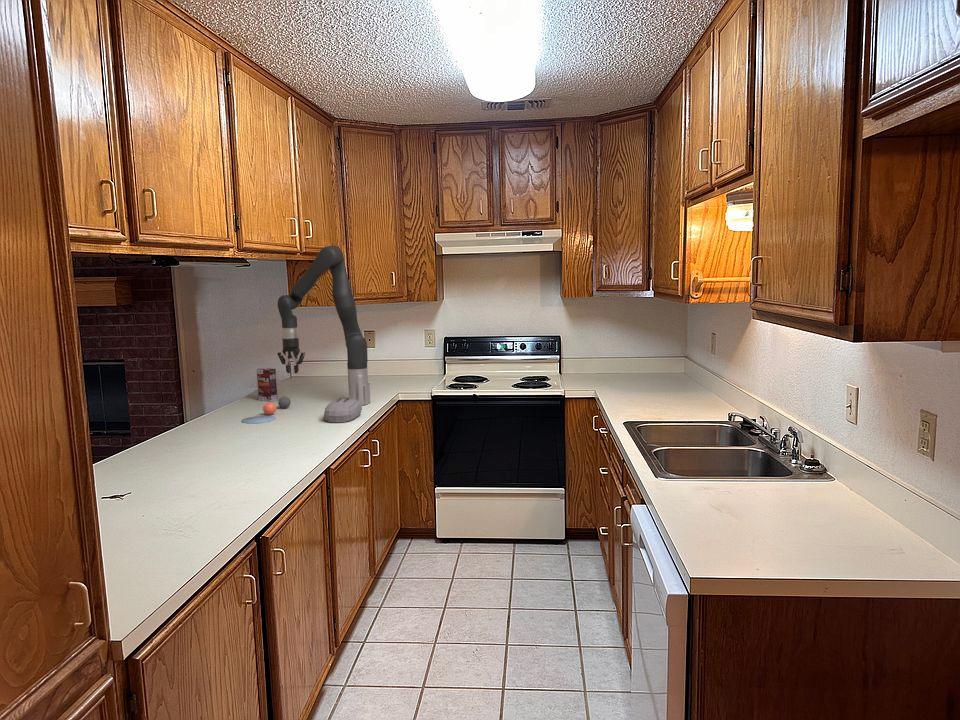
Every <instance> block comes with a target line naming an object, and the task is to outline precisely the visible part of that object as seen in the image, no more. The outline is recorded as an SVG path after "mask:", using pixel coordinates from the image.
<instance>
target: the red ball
mask: <svg viewBox="0 0 960 720" xmlns="http://www.w3.org/2000/svg"><path fill="white" fill-rule="evenodd" d="M262 410H263V413H264V414H265V415H266V416H273V414H275V412H276V411H277V407H276V404H275V403H273V402H266V403H265V404H263V407H262Z"/></svg>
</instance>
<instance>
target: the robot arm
mask: <svg viewBox="0 0 960 720" xmlns="http://www.w3.org/2000/svg"><path fill="white" fill-rule="evenodd" d="M345 262H346V261H345V256H344V253H343V250H342V249H341V248H340V247H339V246H338V245H328V246H327V245H326V246H324V247H323V248H321V249H320V251H319V252H318V253H317V255H316V257H314V260H313V262H312V263H311V264H310V266H309V267H308V268H307V269H306V270H305V272H304V273H303V274H302V275H301V277H299V279H298V280H296V282H295V283H294V284H293V285H292V286H291V292H290V293H289V294H285V295H284V294H283V295H281V296H279V298H278V299H277V308H278V313H279V315H280V319H281V342H282V349H281V351H279V352H277V356H278V358H279V361H280V362H281V365H284V366H285V371H286V373H287V374H291V371H292V369H291V361H292V362H293V371H294V374H298V372H299V365H301V364H303V361H304V358H305V356H306V352H305V351H301V349H300V340H299V338H300V337H299V336H300V335H299V329H298V318H297V316H296V315H294V313H293V310H294V309H296V308H298V307H299V306H300V305H301V303H302V301H303V300H304V298H305V296H306V295H307V294H308V293H309V292H310V291H311V290H312V289H313V287H314V286H315V285H316V283H317V281H318V279H319V278H320V277H321V275H322V274H323V273H324V272H325V271H326V270H328V269H329V270H330V273H331V277H332V280H331V281H332V286H331V287H332V288H331V289H332V291H331V294H332V299H333V303H334V306H335V310H336V313H337V315H338V318H339V320H340V322H341V326H342V330H343V335H344V340H345V341H344V342H345V346H346V350H347V355H346V356H347V365H346V367H347V383H348V384H347V385H348V398H349V399H351V400H358V401H359V402H360V403H361V404H362V406H367V405H369V404H371V387H370V382H369V380H368V379H369V377H368V376H369V375H368V343H367V340H366V339H365V337H364V335H363V334H362V331H361V329H360V325H359V323H358V315H357V314H358V313H357V305H356V302H355V298H354V295H353V291H352V287H351V284H350V281H349V277H348V273H347V268H346V263H345Z"/></svg>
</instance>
